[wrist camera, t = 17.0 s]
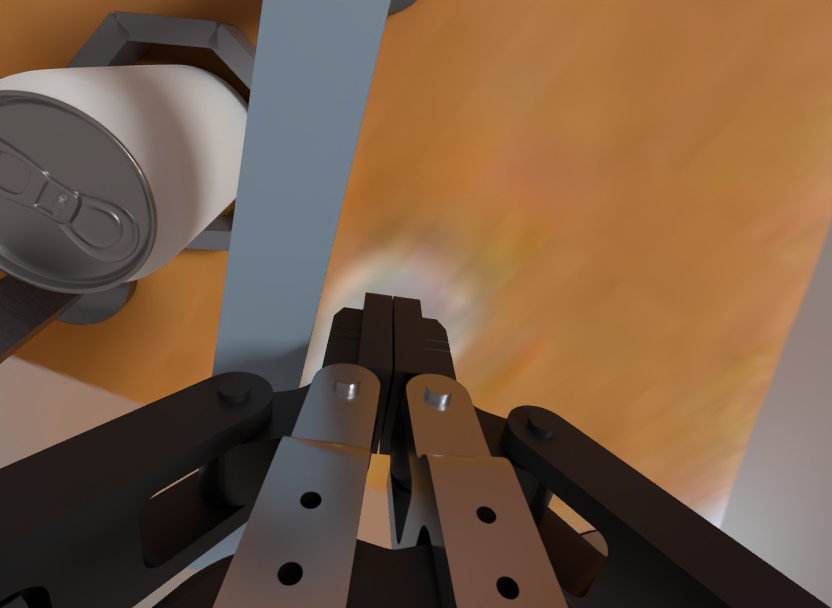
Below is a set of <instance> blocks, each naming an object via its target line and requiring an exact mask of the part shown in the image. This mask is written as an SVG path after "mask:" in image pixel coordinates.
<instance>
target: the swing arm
mask: <svg viewBox="0 0 832 608" xmlns="http://www.w3.org/2000/svg"><path fill="white" fill-rule="evenodd" d="M390 2H391V0H263V3H262V10H261V18H260V25H259V32H258V40H257V47H256V55H255V62H254V69H253V77H252V84H251V92H250V99H249V106H248V114H247V121H246V129H245V136H244V144H243V151H242V158H241V166H240V173H239V181H238V188H237V195H236V203H235V210H234V218H233V225H232V232H231V240H230V247H229V255H228V262H227V270H226V277H225V284H224V292H223V299H222V307H221V314H220V321H219V329H218V336H217V344H216V351H215V358H214V366H213V373H212V377H213V376H215V375H218V374H222V373H227V372H248V373H253V374H256V375H259V376H261V377H263V378H264V379H266V380H267V381H268V382H269V383H270V384H271V386H272V388H273V392H279V391H288V390H295V389H299V386H300V381H301V377H302V373H303V369H304V364H305V360H306V356H307V352H308V348H309V343H310V339H311V335H312V331H313V327H314V322H315V318H316V314H317V310H318V305H319V301H320V297H321V293H322V289H323V284H324V280H325V276H326V272H327V267H328V263H329V259H330V255H331V251H332V246H333V242H334V238H335V234H336V230H337V225H338V221H339V217H340V213H341V208H342V204H343V200H344V196H345V192H346V187H347V183H348V179H349V175H350V170H351V166H352V162H353V158H354V154H355V149H356V145H357V141H358V137H359V133H360V128H361V124H362V120H363V116H364V111H365V107H366V103H367V99H368V95H369V90H370V86H371V82H372V78H373V73H374V69H375V65H376V61H377V57H378V52H379V48H380V44H381V40H382V36H383V31H384V27H385V23H386V19H387V14H388V10H389V6H390ZM246 525H247V522H246V523H245V524H244V525H242V526H241V527H240V528H238V529H237V530H236V531H234V532H233V533H231V534H230V535H229V536H227V537H226V538H225V539H223V540H222V541H221V542H219V543H218V544H217V545H215V546H214V547H213V548H211V549H210V550H209V551H207V552H206V553H205V554H203V555H202V556H201V557H199V558H198V559H197V560H195V561H194V562H193V563H191V564H190V565H189V566H187V567H186V568H187V569H196V570H202V569H203V568H205V567H206V566H208V565H210V564H212V563H214V562H216V561H218V560H220V559H222V558H225V557H227V556H230V555H232V554H235V552H236V549H237V547H238V544H239V542H240V539H241V537H242V534H243V532H244V529H245V527H246Z"/></svg>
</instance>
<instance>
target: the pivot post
mask: <svg viewBox="0 0 832 608" xmlns="http://www.w3.org/2000/svg"><path fill="white" fill-rule="evenodd" d="M416 1H417V0H391V2H390V6H389V10H388V14H394V13H397V12H400V11H402V10H404V9H406V8H408V7H409V6H411V5H412V4H413V3H415V2H416Z"/></svg>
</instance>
